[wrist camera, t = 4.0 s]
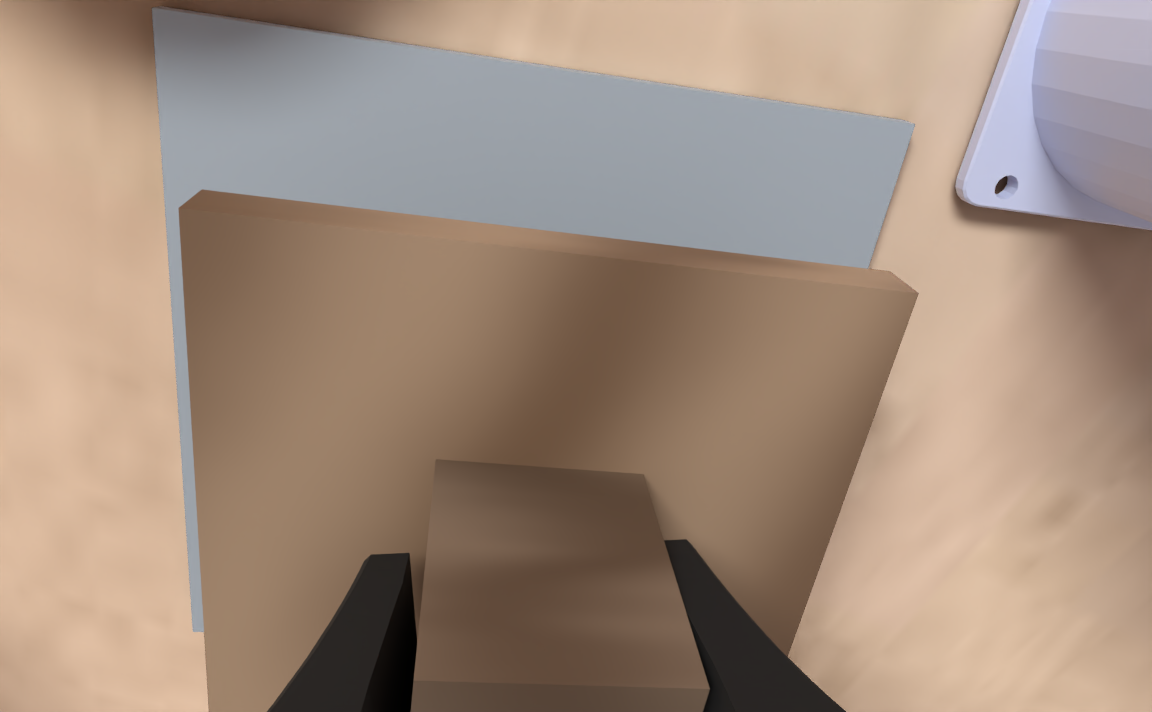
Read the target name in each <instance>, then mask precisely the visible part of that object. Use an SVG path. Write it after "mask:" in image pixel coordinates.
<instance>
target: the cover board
mask: <svg viewBox="0 0 1152 712" xmlns="http://www.w3.org/2000/svg"><path fill="white" fill-rule="evenodd" d="M178 210H179V227H180V243H181V260H182V276H183V293H184V309H185V326H186V342H187V359H188V375H189V392H190V408H191V425H192V441H193V458H194V474H195V491H196V507H197V524H198V540H199V557H200V573H201V590H202V606H203V623H204V639H205V656H206V673H207V689H208V706H209V712H267V711H268V709H269V708H270V707H271V706H272V704H273V703H274V702H275V700H276V699H277V698H278V696H279V695H280V694H281V692H282V691H283V689H284V688H285V687H286V685H287V684H288V683H289V681H290V680H291V679H292V677H293V676H294V675H295V673H296V672H297V670H298V669H299V668H300V666H301V665H302V664H303V662H304V661H305V659H306V658H307V656H308V655H309V653H310V652H311V650H312V649H313V647H314V646H315V644H316V643H317V641H318V640H319V638H320V637H321V635H322V634H323V632H324V630H325V629H326V627H327V626H328V624H329V623H330V621H331V620H332V618H333V616H334V615H335V613H336V611H337V610H338V608H339V606H340V605H341V603H342V601H343V600H344V598H345V596H346V594H347V593H348V591H349V589H350V587H351V585H352V584H353V582H354V580H355V578H356V576H357V574H358V572H359V570H360V568H361V566H362V564H363V562H364V560H365V559H367V558H368V557H369V556H370V555H372V554H393V553H410V564H411V576H412V587H413V598H414V610H415V621H416V633H417V651H416V661H415V671H414V681H413V692H412V703H411V712H703V710H704V706H705V703H706V700H707V697H708V694H709V690H710V688H709V684H708V681H707V678H706V675H705V671H704V668H703V665H702V662H701V658H700V655H699V652H698V649H697V646H696V642H695V639H694V636H693V633H692V629H691V626H690V623H689V620H688V616H687V613H686V610H685V607H684V604H683V600H682V597H681V594H680V591H679V587H678V584H677V581H676V578H675V574H674V571H673V568H672V565H671V562H670V558H669V555H668V552H667V549H666V545H665V542H664V540H681V539H687V540H688V541H689V542H690V543H691V544H692V545H693V547H694V548H695V549H696V551H697V552H698V553H699V555H700V556H701V557H702V558H703V560H704V561H705V562H706V564H707V565H708V566H709V568H710V569H711V570H712V571H713V573H714V574H715V575H716V576H717V578H718V579H719V580H720V581H721V583H722V584H723V585H724V586H725V588H726V589H727V590H728V591H729V592H730V594H731V595H732V596H733V597H734V598H735V600H736V601H737V602H738V603H739V604H740V606H741V607H742V608H743V609H744V610H745V611H746V612H747V614H748V615H749V616H750V617H751V618H752V619H753V620H754V621H755V623H756V624H757V625H758V626H759V627H760V628H761V629H762V630H763V631H764V633H765V634H766V635H767V636H768V637H769V638H770V639H771V640H772V641H773V642H774V643H775V644H776V646H777V647H778V648H779V649H780V650H781V651H782V652H783V653H784V654H785V655H786V656H787V657H788V654H789V651H790V648H791V645H792V643H793V640H794V637H795V634H796V632H797V629H798V626H799V623H800V621H801V618H802V615H803V612H804V609H805V607H806V604H807V601H808V598H809V596H810V593H811V590H812V587H813V585H814V582H815V579H816V576H817V573H818V571H819V568H820V565H821V562H822V560H823V557H824V554H825V551H826V549H827V546H828V543H829V540H830V537H831V535H832V532H833V529H834V526H835V524H836V521H837V518H838V515H839V513H840V510H841V507H842V504H843V501H844V499H845V496H846V493H847V490H848V488H849V485H850V482H851V479H852V477H853V474H854V471H855V468H856V465H857V463H858V460H859V457H860V454H861V452H862V449H863V446H864V443H865V441H866V438H867V435H868V432H869V429H870V427H871V424H872V421H873V418H874V416H875V413H876V410H877V407H878V405H879V402H880V399H881V396H882V393H883V391H884V388H885V385H886V382H887V380H888V377H889V374H890V371H891V368H892V366H893V363H894V360H895V357H896V355H897V352H898V349H899V346H900V344H901V341H902V338H903V335H904V332H905V330H906V327H907V324H908V321H909V319H910V316H911V313H912V310H913V308H914V305H915V302H916V299H917V296H918V294H919V293H918V292H916V291H915V290H914V289H912V288H911V287H910V286H908V285H907V284H906V283H905V282H903V281H902V280H901V279H899V278H898V277H897V276H895V275H894V274H893V273H891V272H890V271H883V270H874V269H866V268H857V267H849V266H841V265H832V264H824V263H815V262H807V261H799V260H790V259H782V258H773V257H765V256H757V255H748V254H740V253H731V252H723V251H715V250H706V249H698V248H689V247H681V246H673V245H664V244H656V243H647V242H639V241H631V240H622V239H614V238H606V237H597V236H589V235H580V234H572V233H564V232H555V231H547V230H538V229H530V228H522V227H513V226H505V225H496V224H488V223H480V222H471V221H463V220H454V219H446V218H438V217H429V216H421V215H412V214H404V213H396V212H387V211H379V210H370V209H362V208H354V207H345V206H337V205H328V204H320V203H312V202H303V201H295V200H287V199H278V198H270V197H261V196H253V195H245V194H236V193H228V192H219V191H211V190H203V189H202V190H200V191H199V192H198V193H197V194H195V195H194V196H193V197H192V198H190V199H189V200H188V201H187V202H185V203H184V204H183V205H182V206H180V207H179V208H178Z"/></svg>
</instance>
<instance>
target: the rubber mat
mask: <svg viewBox="0 0 1152 712" xmlns="http://www.w3.org/2000/svg"><path fill="white" fill-rule="evenodd" d="M152 18H153V34H154V49H155V64H156V79H157V94H158V109H159V125H160V140H161V155H162V170H163V185H164V200H165V216H166V231H167V246H168V261H169V276H170V291H171V307H172V322H173V337H174V352H175V367H176V382H177V398H178V413H179V428H180V443H181V458H182V473H183V489H184V504H185V519H186V534H187V549H188V564H189V580H190V595H191V610H192V625H193V632H204V623H203V606H202V590H201V573H200V557H199V540H198V524H197V507H196V491H195V474H194V458H193V441H192V425H191V408H190V392H189V375H188V359H187V342H186V326H185V309H184V293H183V276H182V260H181V243H180V227H179V210H178V208H179V207H180V206H182V205H183V204H184V203H185V202H187V201H188V200H189V199H190V198H192V197H193V196H194V195H195V194H197V193H198V192H199V191H200V190H202V189H203V190H211V191H219V192H228V193H236V194H245V195H253V196H261V197H270V198H278V199H287V200H295V201H303V202H312V203H320V204H328V205H337V206H345V207H354V208H362V209H370V210H379V211H387V212H396V213H404V214H412V215H421V216H429V217H438V218H446V219H454V220H463V221H471V222H480V223H488V224H496V225H505V226H513V227H522V228H530V229H538V230H547V231H555V232H564V233H572V234H580V235H589V236H597V237H606V238H614V239H622V240H631V241H639V242H647V243H656V244H664V245H673V246H681V247H689V248H698V249H706V250H715V251H723V252H731V253H740V254H748V255H757V256H765V257H773V258H782V259H790V260H799V261H807V262H815V263H824V264H832V265H841V266H849V267H857V268H866V269H868V267H869V264H870V261H871V258H872V255H873V252H874V249H875V246H876V242H877V239H878V236H879V233H880V230H881V227H882V224H883V221H884V218H885V215H886V212H887V209H888V206H889V203H890V200H891V197H892V194H893V191H894V188H895V184H896V181H897V178H898V175H899V172H900V169H901V166H902V163H903V160H904V157H905V154H906V151H907V148H908V145H909V142H910V139H911V136H912V133H913V130H914V127H915V124H913V123H910V122H908V121H905V120H900V119H893V118H887V117H880V116H874V115H867V114H861V113H854V112H847V111H841V110H834V109H828V108H821V107H815V106H808V105H802V104H795V103H789V102H782V101H776V100H769V99H763V98H756V97H750V96H743V95H737V94H730V93H724V92H717V91H711V90H704V89H698V88H691V87H685V86H678V85H671V84H665V83H658V82H652V81H645V80H639V79H632V78H626V77H619V76H613V75H606V74H600V73H593V72H587V71H580V70H574V69H567V68H561V67H554V66H548V65H541V64H535V63H528V62H522V61H515V60H508V59H502V58H495V57H489V56H482V55H476V54H469V53H463V52H456V51H450V50H443V49H437V48H430V47H424V46H417V45H411V44H404V43H398V42H391V41H385V40H378V39H372V38H365V37H359V36H352V35H346V34H339V33H332V32H326V31H319V30H313V29H306V28H300V27H293V26H287V25H280V24H274V23H267V22H261V21H254V20H248V19H241V18H235V17H228V16H222V15H215V14H209V13H202V12H196V11H189V10H183V9H176V8H169V7H163V6H160V7H153V8H152Z"/></svg>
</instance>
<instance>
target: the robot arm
mask: <svg viewBox="0 0 1152 712" xmlns="http://www.w3.org/2000/svg"><path fill="white" fill-rule="evenodd" d="M1005 176H1007V178H1008V181H1007V185H1006V187H1005V188H1004V190H1003V191H1001V192H1000V193H998V194H995V186H996V184H997V183H998V181H999V180H1000V179H1002V178H1003V177H1005ZM955 188H956V192H957V195H958V196H959V197H960V198H961V199H962V200H963V201H965V202H967V203H969V204H972V205H974V206H978V207H985V208H993V209H1000V210H1007V211H1015V212H1022V213H1029V214H1037V215H1044V216H1051V217H1058V218H1066V219H1073V220H1080V221H1088V222H1095V223H1102V224H1110V225H1117V226H1124V227H1132V228H1139V229H1146V230H1152V0H1020V3H1019V6H1018V9H1017V12H1016V14H1015V17H1014V20H1013V23H1012V26H1011V28H1010V31H1009V34H1008V37H1007V39H1006V42H1005V45H1004V48H1003V51H1002V53H1001V56H1000V59H999V62H998V64H997V67H996V70H995V73H994V76H993V78H992V81H991V84H990V87H989V89H988V92H987V95H986V98H985V101H984V103H983V106H982V109H981V112H980V115H979V117H978V120H977V123H976V126H975V128H974V131H973V134H972V137H971V140H970V142H969V145H968V148H967V151H966V153H965V156H964V159H963V162H962V165H961V167H960V170H959V173H958V176H957V179H956V185H955ZM664 542H665V545H666V549H667V552H668V555H669V558H670V562H671V565H672V568H673V571H674V574H675V578H676V581H677V584H678V587H679V591H680V594H681V597H682V600H683V604H684V607H685V610H686V613H687V616H688V620H689V623H690V626H691V629H692V633H693V636H694V639H695V642H696V646H697V649H698V652H699V655H700V658H701V662H702V665H703V668H704V671H705V675H706V678H707V681H708V684H709V688H710V690H709V694H708V697H707V700H706V703H705V706H704V710H703V712H846V711H845V710H844V709H842V708H841V707H840V706H839V705H838V704H837V703H836V702H834V701H833V700H832V699H831V698H830V697H829V696H828V695H826V694H825V693H824V692H823V691H822V690H821V689H820V688H819V687H818V686H817V685H816V684H815V683H814V682H812V681H811V680H810V679H809V678H808V677H807V676H806V675H805V674H804V673H803V672H802V671H801V670H800V669H799V668H798V667H797V666H796V665H795V664H794V663H793V662H792V661H791V660H790V659H789V658H788V657H787V656H786V655H785V654H784V653H783V652H782V651H781V650H780V649H779V648H778V647H777V646H776V644H775V643H774V642H773V641H772V640H771V639H770V638H769V637H768V636H767V635H766V634H765V633H764V631H763V630H762V629H761V628H760V627H759V626H758V625H757V624H756V623H755V621H754V620H753V619H752V618H751V617H750V616H749V615H748V614H747V612H746V611H745V610H744V609H743V608H742V607H741V606H740V604H739V603H738V602H737V601H736V600H735V598H734V597H733V596H732V595H731V594H730V592H729V591H728V590H727V589H726V588H725V586H724V585H723V584H722V583H721V581H720V580H719V579H718V578H717V576H716V575H715V574H714V573H713V571H712V570H711V569H710V568H709V566H708V565H707V564H706V562H705V561H704V560H703V558H702V557H701V556H700V555H699V553H698V552H697V551H696V549H695V548H694V547H693V545H692V544H691V543H690V542H689V541H688V540H687V539H681V540H664ZM416 651H417V633H416V621H415V610H414V598H413V587H412V576H411V564H410V553H393V554H372V555H370V556H369V557H368V558H367V559H365V560H364V562H363V564H362V566H361V568H360V570H359V572H358V574H357V576H356V578H355V580H354V582H353V584H352V585H351V587H350V589H349V591H348V593H347V594H346V596H345V598H344V600H343V601H342V603H341V605H340V606H339V608H338V610H337V611H336V613H335V615H334V616H333V618H332V620H331V621H330V623H329V624H328V626H327V627H326V629H325V630H324V632H323V634H322V635H321V637H320V638H319V640H318V641H317V643H316V644H315V646H314V647H313V649H312V650H311V652H310V653H309V655H308V656H307V658H306V659H305V661H304V662H303V664H302V665H301V666H300V668H299V669H298V670H297V672H296V673H295V675H294V676H293V677H292V679H291V680H290V681H289V683H288V684H287V685H286V687H285V688H284V689H283V691H282V692H281V694H280V695H279V696H278V698H277V699H276V700H275V702H274V703H273V704H272V706H271V707H270V708H269V709H268V711H267V712H411V703H412V692H413V681H414V671H415V661H416Z"/></svg>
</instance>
